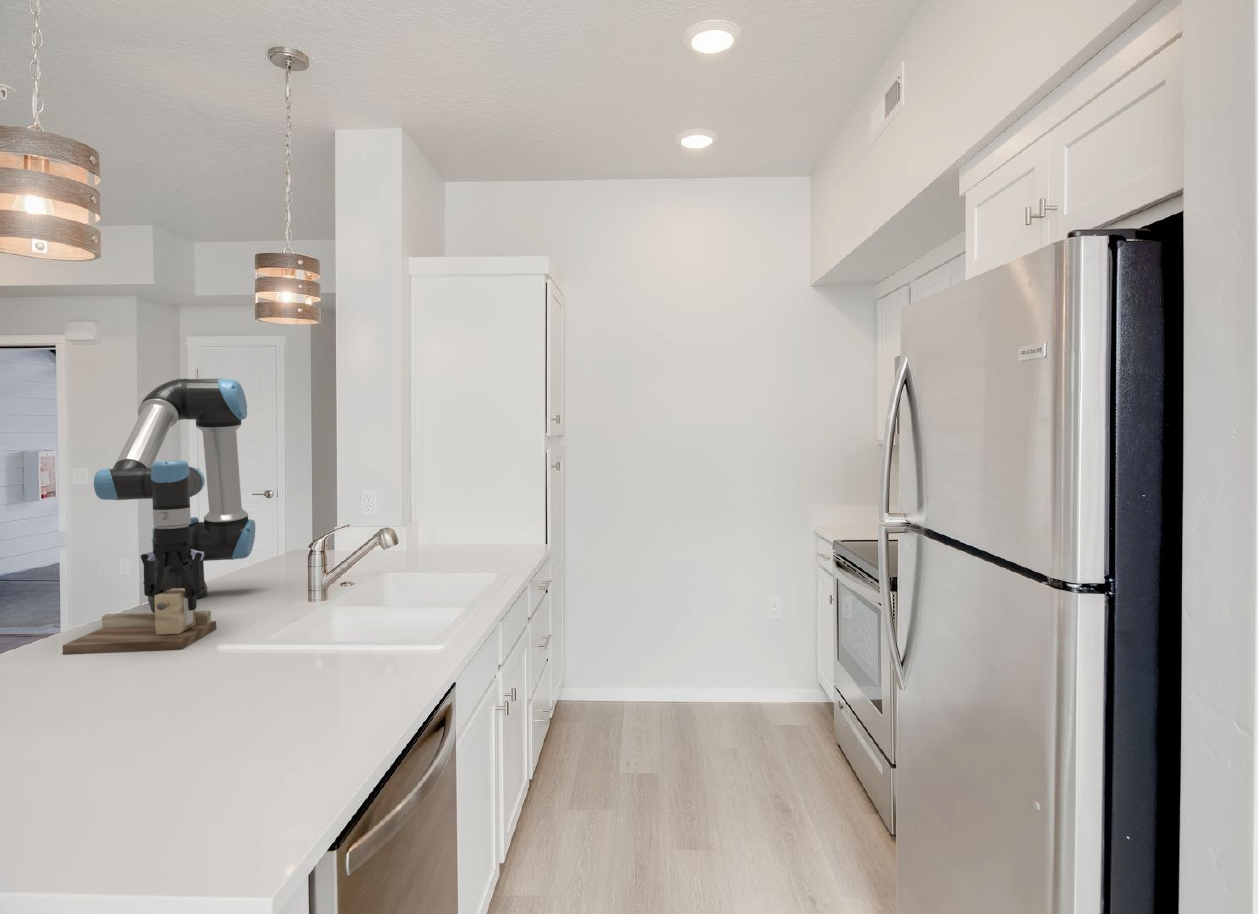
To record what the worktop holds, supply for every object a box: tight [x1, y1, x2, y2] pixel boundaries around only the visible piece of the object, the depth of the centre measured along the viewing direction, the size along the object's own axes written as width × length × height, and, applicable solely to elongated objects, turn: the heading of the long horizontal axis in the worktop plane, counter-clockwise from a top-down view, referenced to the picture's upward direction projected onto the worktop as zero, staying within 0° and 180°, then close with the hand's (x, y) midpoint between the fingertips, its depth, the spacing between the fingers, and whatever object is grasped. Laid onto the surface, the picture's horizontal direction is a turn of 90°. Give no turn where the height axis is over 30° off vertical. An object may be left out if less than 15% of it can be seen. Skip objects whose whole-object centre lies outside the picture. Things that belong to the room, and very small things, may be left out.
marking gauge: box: [154, 588, 196, 635], centre depth 173 cm, size 12×5×9 cm, turn 5°
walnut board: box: [62, 610, 217, 655], centre depth 173 cm, size 17×25×5 cm
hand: (176, 624), depth 174 cm, fingers closed on marking gauge, 5 cm apart
